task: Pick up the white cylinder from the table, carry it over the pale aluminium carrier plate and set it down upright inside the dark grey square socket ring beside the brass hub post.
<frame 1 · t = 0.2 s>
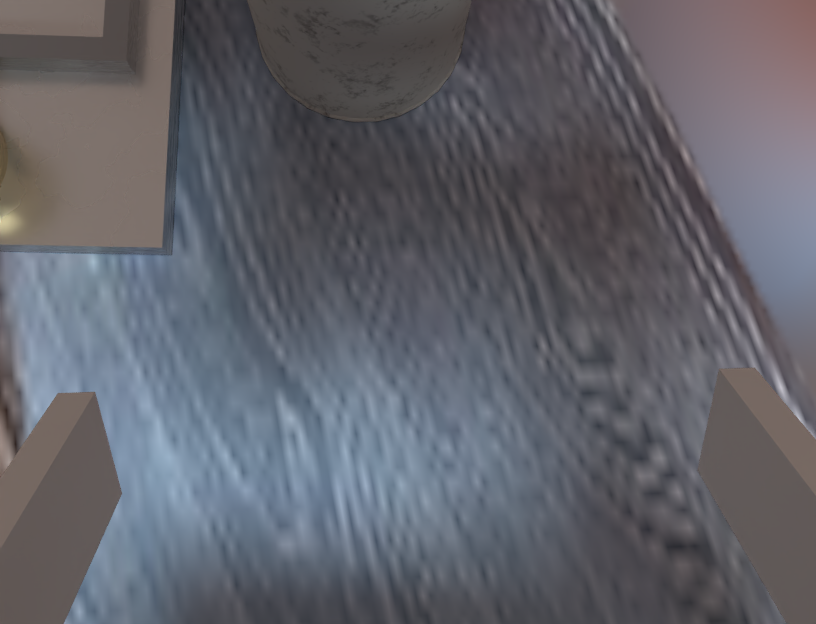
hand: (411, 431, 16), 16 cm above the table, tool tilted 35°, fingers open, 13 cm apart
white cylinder: (361, 25, 34), on the table
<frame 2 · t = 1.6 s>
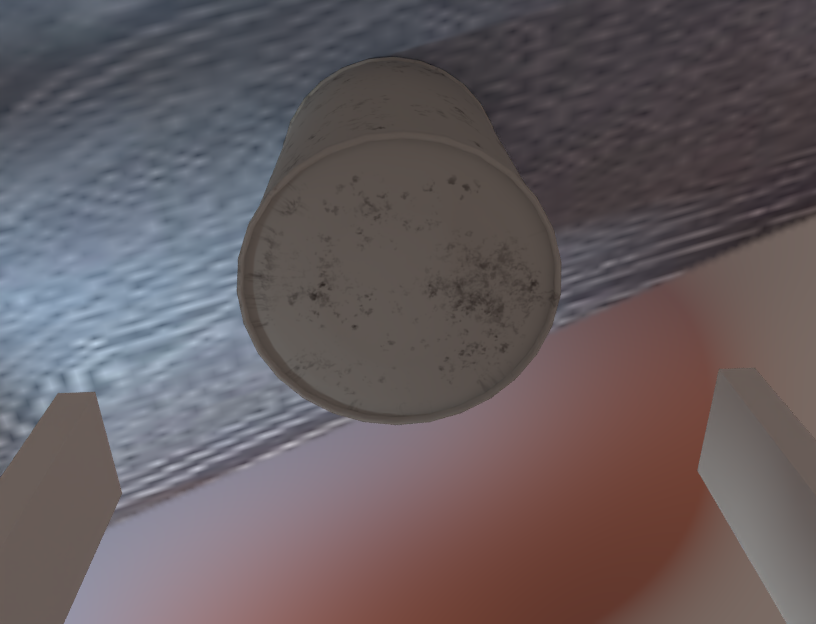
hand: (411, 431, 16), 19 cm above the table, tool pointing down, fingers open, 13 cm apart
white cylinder: (391, 168, 33), on the table
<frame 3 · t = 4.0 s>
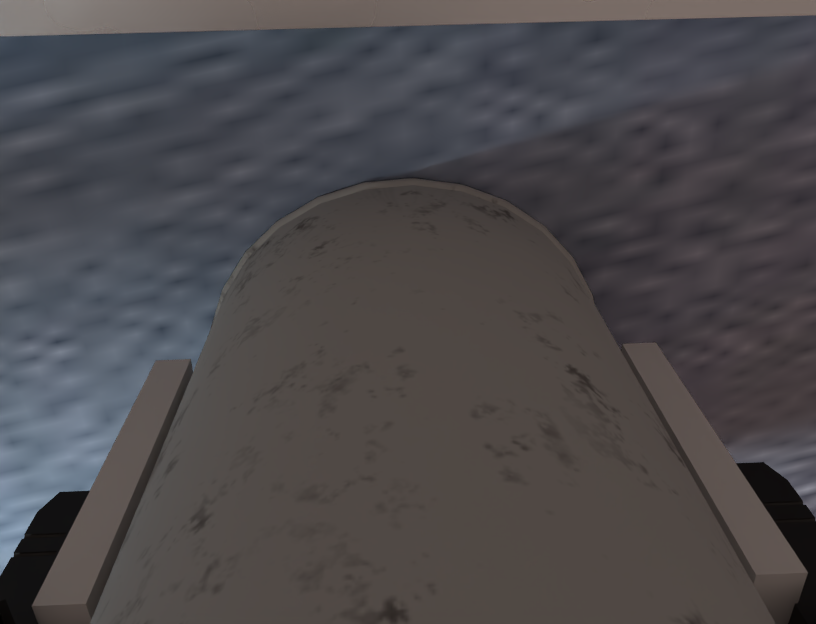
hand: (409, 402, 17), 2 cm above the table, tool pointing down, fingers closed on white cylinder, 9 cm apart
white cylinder: (406, 359, 18), on the table, touching gripper
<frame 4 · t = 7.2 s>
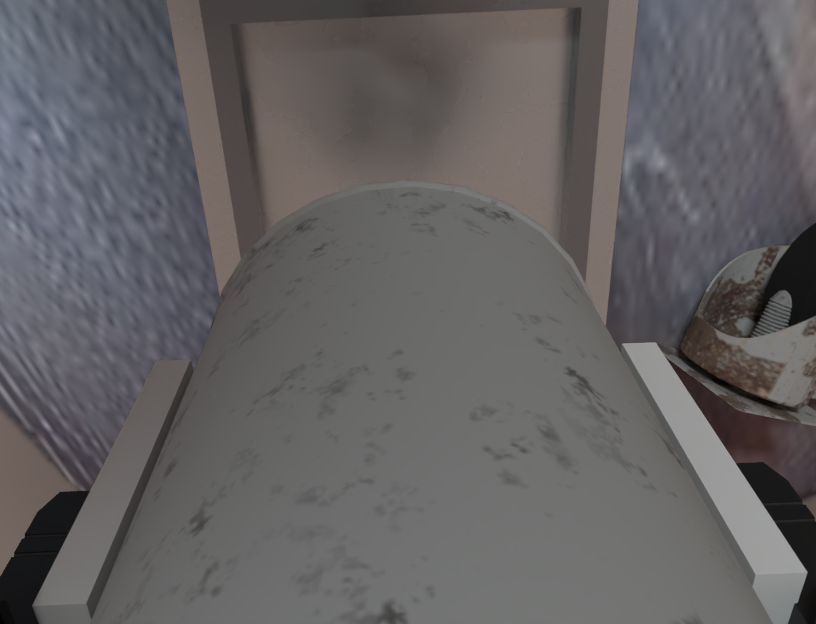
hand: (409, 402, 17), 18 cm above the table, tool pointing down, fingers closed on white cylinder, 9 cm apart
caster wheel: (788, 280, 36), on the table
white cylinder: (405, 360, 18), point 16 cm above the table, touching gripper
carrier plate: (407, 96, 31), on the table
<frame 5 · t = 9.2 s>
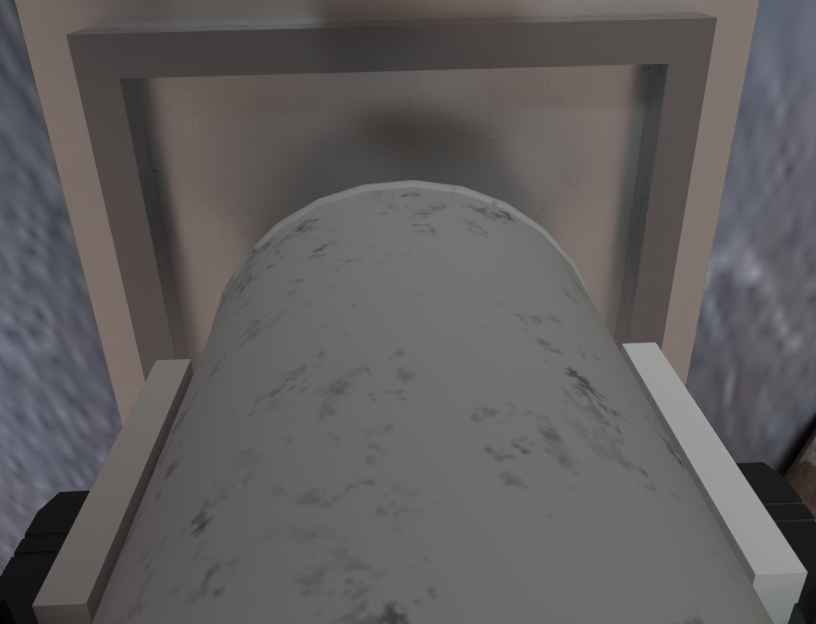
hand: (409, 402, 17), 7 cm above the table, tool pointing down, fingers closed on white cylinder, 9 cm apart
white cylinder: (406, 361, 18), point 5 cm above the table, touching gripper
carrier plate: (397, 178, 21), on the table
when the fingers open (5 cm above the table, at t = 10.6 s): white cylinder drops 2 cm, resting on carrier plate.
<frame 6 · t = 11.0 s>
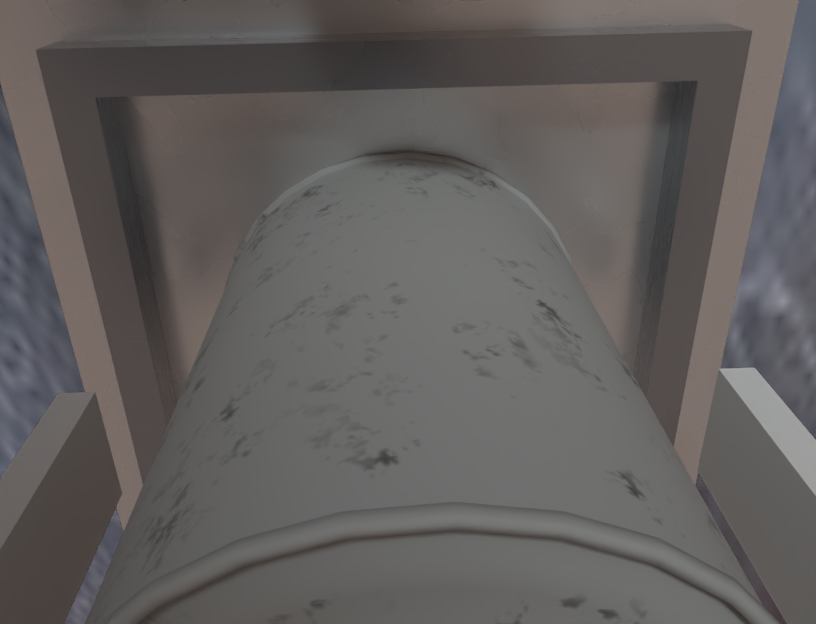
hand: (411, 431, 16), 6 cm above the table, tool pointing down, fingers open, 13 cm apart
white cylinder: (402, 320, 20), point 1 cm above the table, touching carrier plate
carrier plate: (400, 201, 20), on the table
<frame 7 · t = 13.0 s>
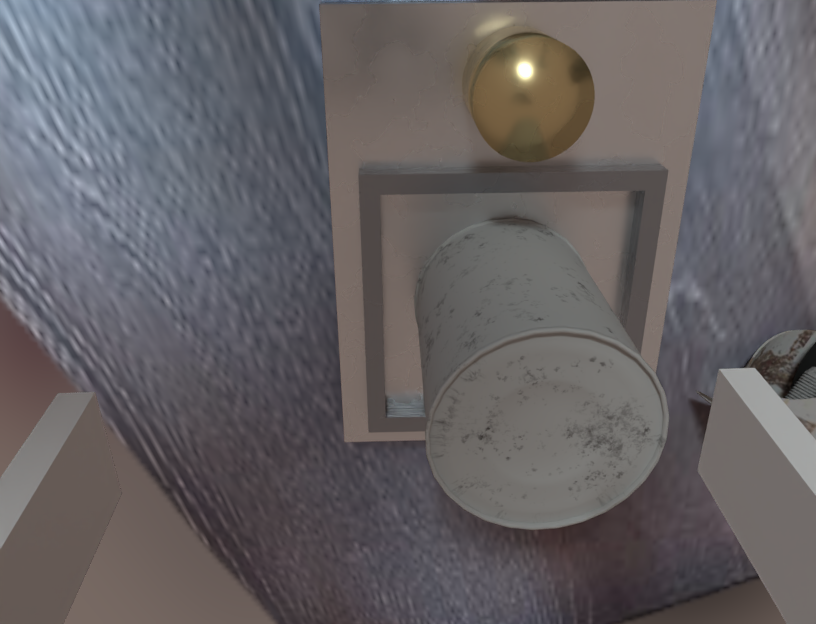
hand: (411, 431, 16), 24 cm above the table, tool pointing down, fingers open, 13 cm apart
caster wheel: (812, 360, 44), on the table
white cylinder: (501, 300, 40), point 1 cm above the table, touching carrier plate
carrier plate: (501, 240, 40), on the table
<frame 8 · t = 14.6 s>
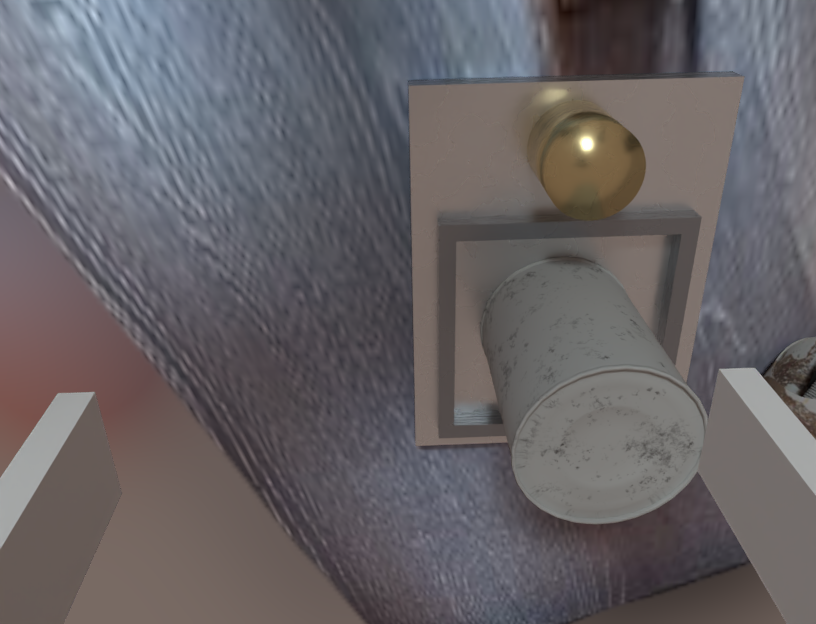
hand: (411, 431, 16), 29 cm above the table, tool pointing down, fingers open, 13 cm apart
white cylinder: (554, 324, 46), point 1 cm above the table, touching carrier plate
carrier plate: (554, 273, 46), on the table
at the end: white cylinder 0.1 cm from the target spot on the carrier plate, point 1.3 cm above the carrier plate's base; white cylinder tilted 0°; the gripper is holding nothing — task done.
